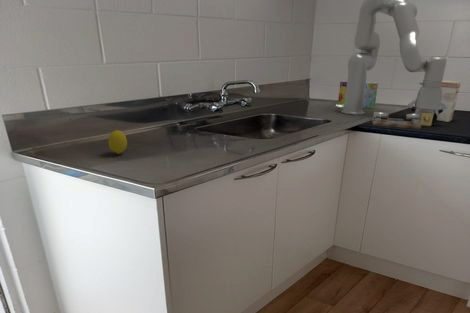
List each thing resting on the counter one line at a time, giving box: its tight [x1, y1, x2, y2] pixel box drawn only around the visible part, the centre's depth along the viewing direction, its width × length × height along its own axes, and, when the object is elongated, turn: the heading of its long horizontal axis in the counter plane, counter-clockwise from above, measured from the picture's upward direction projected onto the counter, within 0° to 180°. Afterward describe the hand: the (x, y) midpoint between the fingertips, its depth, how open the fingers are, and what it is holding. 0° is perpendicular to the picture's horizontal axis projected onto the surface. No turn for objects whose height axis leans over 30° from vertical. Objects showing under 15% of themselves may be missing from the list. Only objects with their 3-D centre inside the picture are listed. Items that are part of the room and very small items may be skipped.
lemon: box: [107, 129, 128, 155], centre depth 107 cm, size 6×6×8 cm
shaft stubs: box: [372, 111, 421, 125], centre depth 160 cm, size 20×8×6 cm, turn 74°
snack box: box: [337, 80, 379, 109], centre depth 205 cm, size 21×6×15 cm, turn 66°
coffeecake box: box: [436, 79, 461, 123], centre depth 172 cm, size 15×7×20 cm, turn 47°
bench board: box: [370, 118, 422, 130], centre depth 160 cm, size 20×10×1 cm, turn 74°
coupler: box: [419, 111, 434, 127], centre depth 162 cm, size 6×5×6 cm
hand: (423, 121), depth 162 cm, fingers open, 7 cm apart
